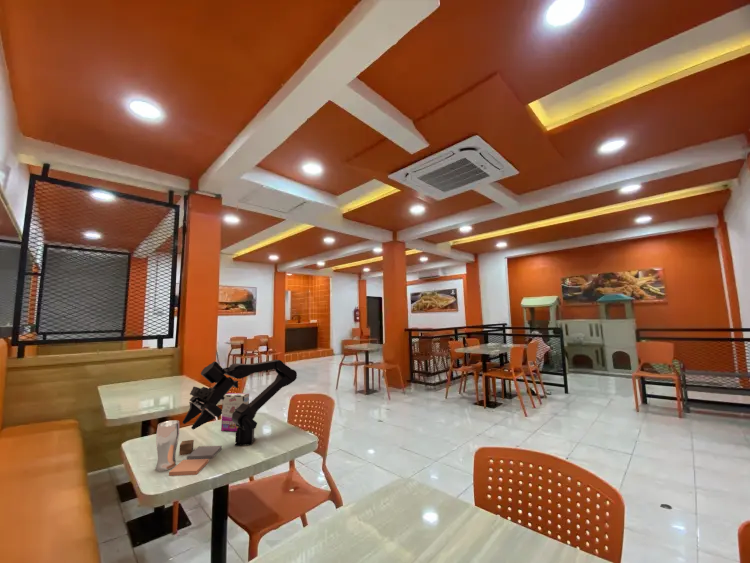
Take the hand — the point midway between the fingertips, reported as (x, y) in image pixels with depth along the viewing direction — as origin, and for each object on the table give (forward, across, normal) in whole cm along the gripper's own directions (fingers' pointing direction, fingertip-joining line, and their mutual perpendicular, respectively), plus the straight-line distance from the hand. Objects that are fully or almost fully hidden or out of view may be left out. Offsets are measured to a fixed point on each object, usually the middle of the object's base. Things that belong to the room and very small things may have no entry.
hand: (187, 426), depth 118 cm
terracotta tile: (+10, +8, +8) cm, 15 cm away
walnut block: (+7, -8, +11) cm, 15 cm away
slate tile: (+4, -1, +14) cm, 14 cm away
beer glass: (+13, 0, +4) cm, 14 cm away
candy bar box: (-10, -18, +28) cm, 35 cm away
